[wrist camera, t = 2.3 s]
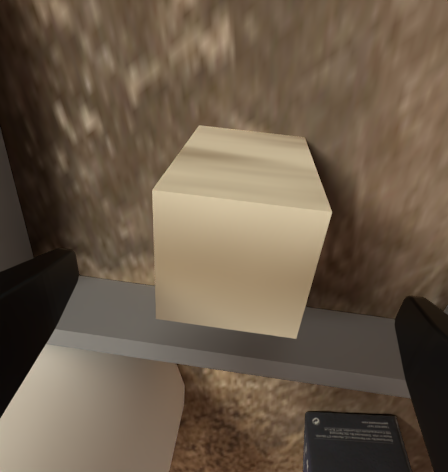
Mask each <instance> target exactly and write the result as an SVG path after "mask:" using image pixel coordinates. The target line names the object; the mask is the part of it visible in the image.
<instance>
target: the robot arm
mask: <svg viewBox="0 0 448 472" xmlns="http://www.w3.org/2000/svg"><path fill="white" fill-rule="evenodd" d="M78 279H79V271H78V265H77V259H76V254H75V252H74V251H73V250H71V249H64V248H57V249H54V250H52V251H50V252H47V253H45V254H42V255H40V256H37V257H35V258H33V259H30V260H28V261H25V262H23V263H20V264H18V265H16V266H13V267H11V268H8V269H6V270H3V271H1V272H0V418H1V417H2V415H3V413H4V412H5V410H6V408H7V407H8V405H9V404H10V402H11V400H12V399H13V397H14V395H15V394H16V392H17V391H18V389H19V387H20V386H21V384H22V382H23V381H24V379H25V378H26V376H27V374H28V373H29V371H30V369H31V368H32V366H33V364H34V363H35V361H36V360H37V358H38V356H39V355H40V353H41V351H42V350H43V348H44V347H45V345H46V343H47V342H48V340H49V338H50V337H51V335H52V333H53V332H54V330H55V328H56V326H57V324H58V322H59V320H60V318H61V316H62V314H63V312H64V310H65V308H66V306H67V303H68V301H69V299H70V297H71V295H72V293H73V291H74V289H75V287H76V284H77V282H78ZM395 331H396V336H397V341H398V346H399V352H400V357H401V362H402V367H403V372H404V376H405V381H406V384H407V388H408V391H409V394H410V397H411V400H412V404H413V407H414V410H415V413H416V416H417V419H418V423H419V426H420V429H421V432H422V435H423V438H424V442H425V445H426V448H427V451H428V454H429V457H430V461H431V464H432V467H433V470H434V472H448V314H446V313H445V312H443V311H442V310H441V309H439V308H438V307H437V306H435V305H434V304H433V303H431V302H430V301H429V300H427V299H426V298H423V297H417V296H407V297H406V298H405V299H404V301H403V303H402V305H401V307H400V309H399V312H398V314H397V316H396V318H395Z"/></svg>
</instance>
